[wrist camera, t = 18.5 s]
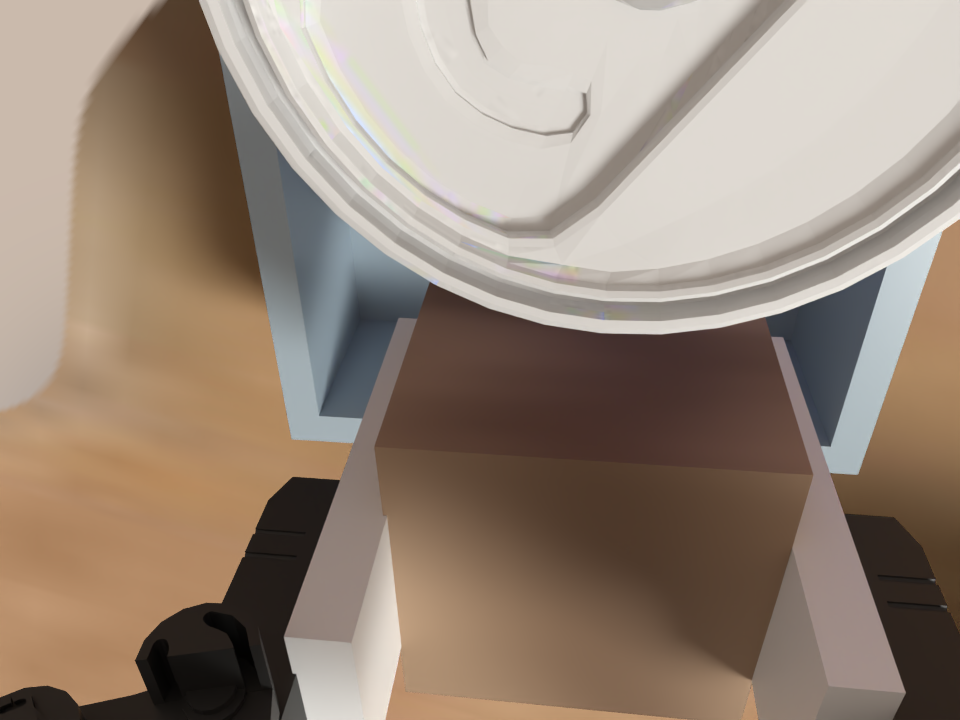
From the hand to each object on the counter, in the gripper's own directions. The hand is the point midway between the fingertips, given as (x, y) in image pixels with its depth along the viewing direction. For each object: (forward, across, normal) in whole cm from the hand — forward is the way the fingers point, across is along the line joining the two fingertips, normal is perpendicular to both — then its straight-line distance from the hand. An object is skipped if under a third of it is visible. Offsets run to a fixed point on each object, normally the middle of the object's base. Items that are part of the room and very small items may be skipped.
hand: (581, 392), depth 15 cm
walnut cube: (0, 0, 0) cm, 0 cm away
